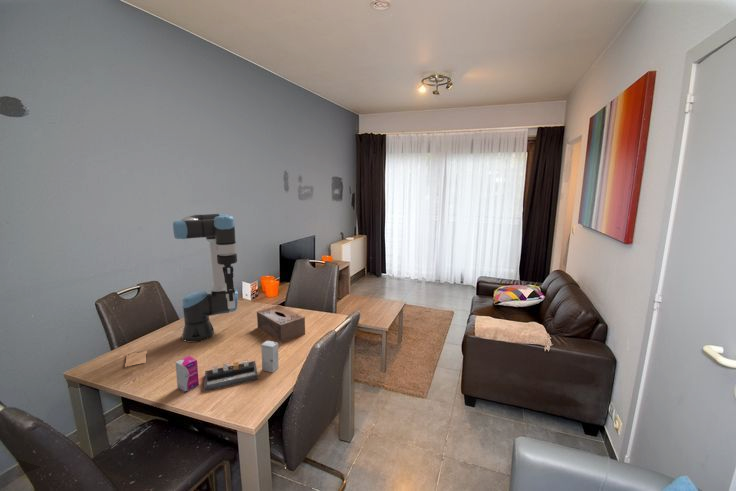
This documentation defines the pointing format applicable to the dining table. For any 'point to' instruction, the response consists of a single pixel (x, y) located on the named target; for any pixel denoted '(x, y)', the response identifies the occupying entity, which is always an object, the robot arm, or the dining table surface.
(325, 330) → the dining table surface
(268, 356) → the skincare box
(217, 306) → the robot arm
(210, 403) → the dining table surface
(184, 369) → the supplement box
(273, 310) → the tissue box cover
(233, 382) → the breaker panel
